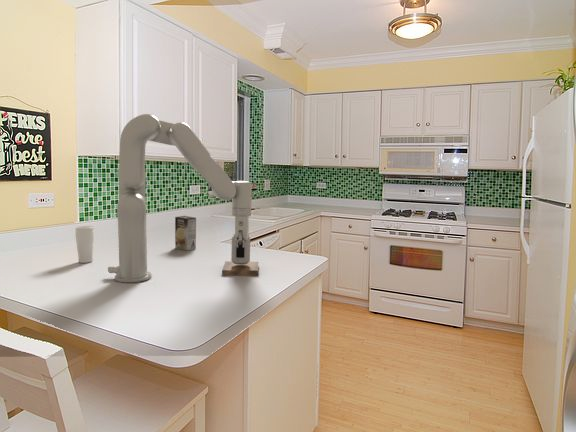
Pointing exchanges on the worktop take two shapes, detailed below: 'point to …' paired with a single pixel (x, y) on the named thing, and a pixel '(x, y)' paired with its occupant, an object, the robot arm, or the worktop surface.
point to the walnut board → (240, 269)
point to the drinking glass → (85, 243)
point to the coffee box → (185, 232)
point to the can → (246, 253)
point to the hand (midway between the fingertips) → (240, 254)
